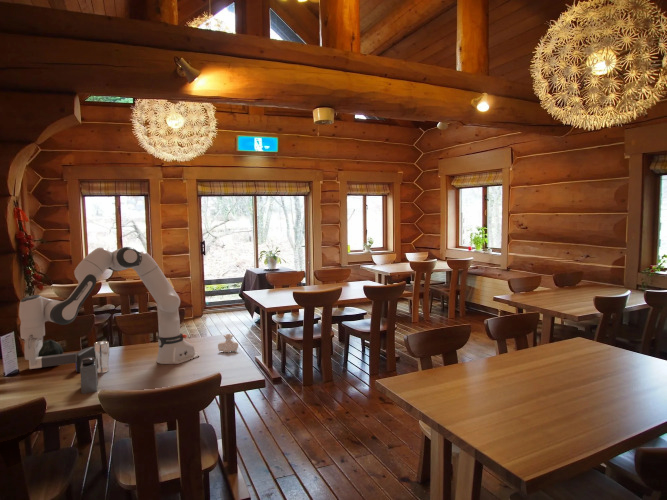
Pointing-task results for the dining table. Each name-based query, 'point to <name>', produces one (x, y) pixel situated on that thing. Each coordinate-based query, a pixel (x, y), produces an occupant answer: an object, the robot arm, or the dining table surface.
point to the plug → (54, 360)
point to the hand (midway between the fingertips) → (34, 363)
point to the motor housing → (89, 375)
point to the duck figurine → (228, 344)
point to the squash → (50, 348)
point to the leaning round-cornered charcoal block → (83, 356)
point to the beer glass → (102, 356)
